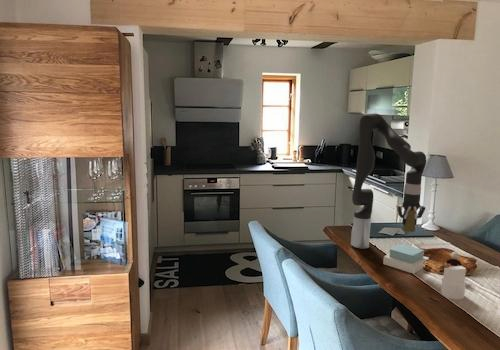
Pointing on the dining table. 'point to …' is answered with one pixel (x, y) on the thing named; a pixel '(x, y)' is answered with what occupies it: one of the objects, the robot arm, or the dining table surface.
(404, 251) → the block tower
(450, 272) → the white upright block
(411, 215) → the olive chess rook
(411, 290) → the dining table surface
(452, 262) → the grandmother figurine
